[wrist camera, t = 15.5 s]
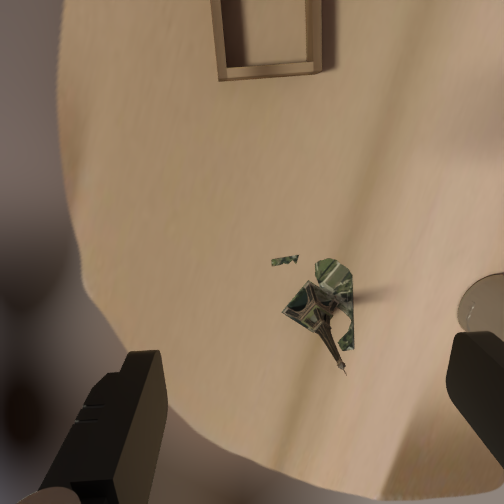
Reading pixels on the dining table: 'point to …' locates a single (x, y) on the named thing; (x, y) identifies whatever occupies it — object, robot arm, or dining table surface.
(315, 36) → the walnut holder
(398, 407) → the dining table surface
